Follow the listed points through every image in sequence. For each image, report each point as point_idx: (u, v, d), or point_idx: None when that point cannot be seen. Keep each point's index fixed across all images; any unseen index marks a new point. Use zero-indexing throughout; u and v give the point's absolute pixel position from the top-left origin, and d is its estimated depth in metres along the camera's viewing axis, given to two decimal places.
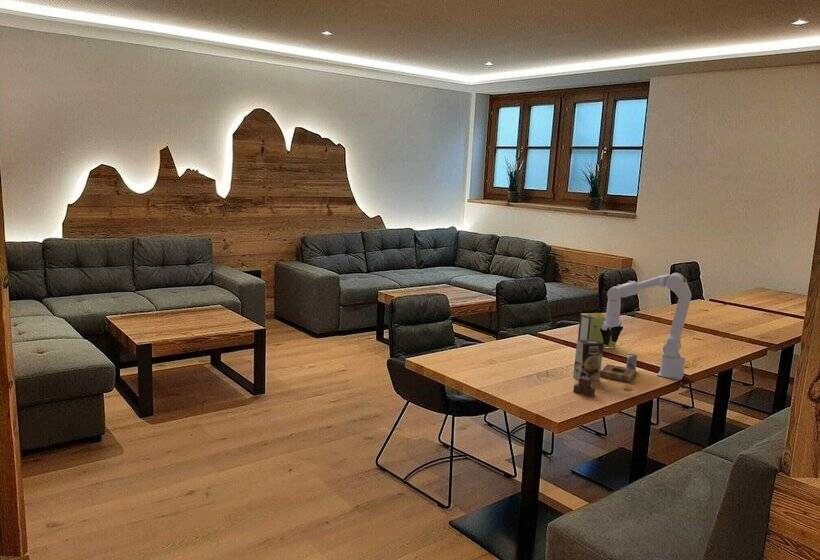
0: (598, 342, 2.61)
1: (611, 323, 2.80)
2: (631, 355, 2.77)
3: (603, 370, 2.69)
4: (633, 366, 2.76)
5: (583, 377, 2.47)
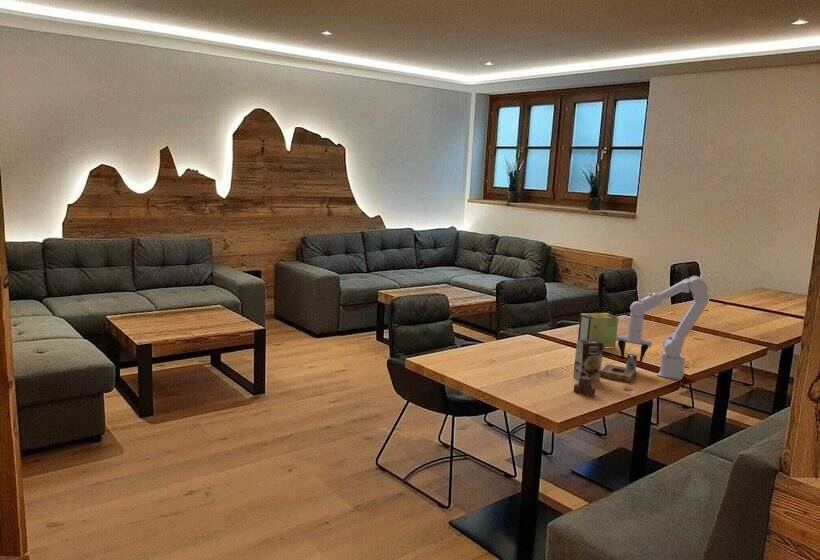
0: (598, 342, 2.61)
1: (627, 337, 2.76)
2: (631, 355, 2.77)
3: (603, 370, 2.69)
4: (633, 366, 2.76)
5: (583, 377, 2.47)
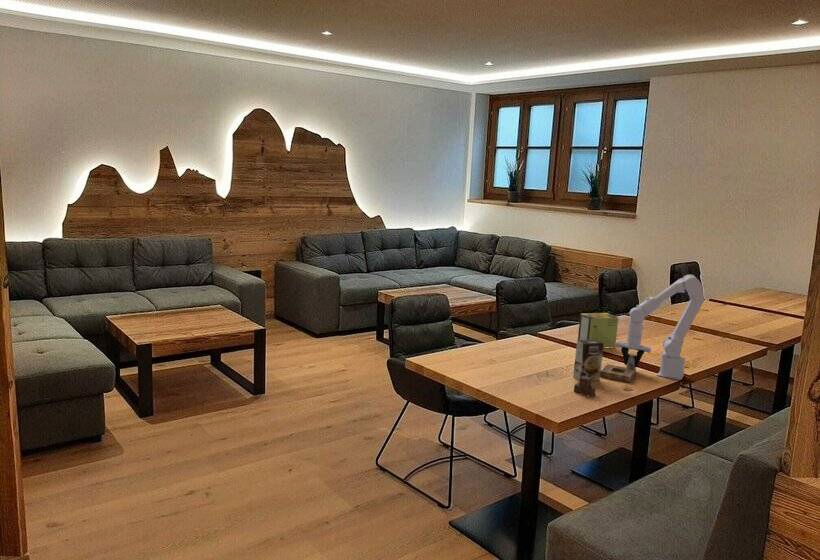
0: (598, 342, 2.61)
1: (626, 343, 2.76)
2: (631, 355, 2.77)
3: (603, 370, 2.69)
4: (633, 366, 2.76)
5: (583, 377, 2.47)
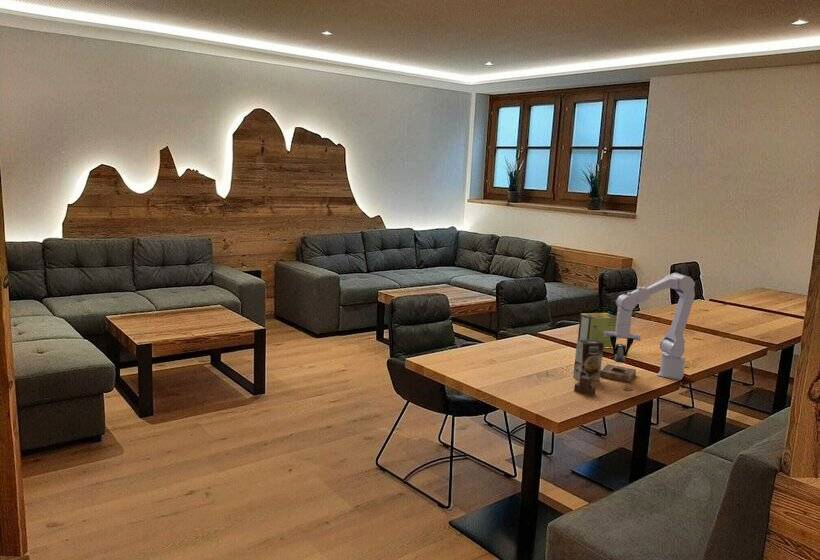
0: (598, 342, 2.61)
1: (615, 332, 2.67)
2: (620, 345, 2.68)
3: (603, 370, 2.69)
4: (622, 356, 2.67)
5: (584, 376, 2.48)
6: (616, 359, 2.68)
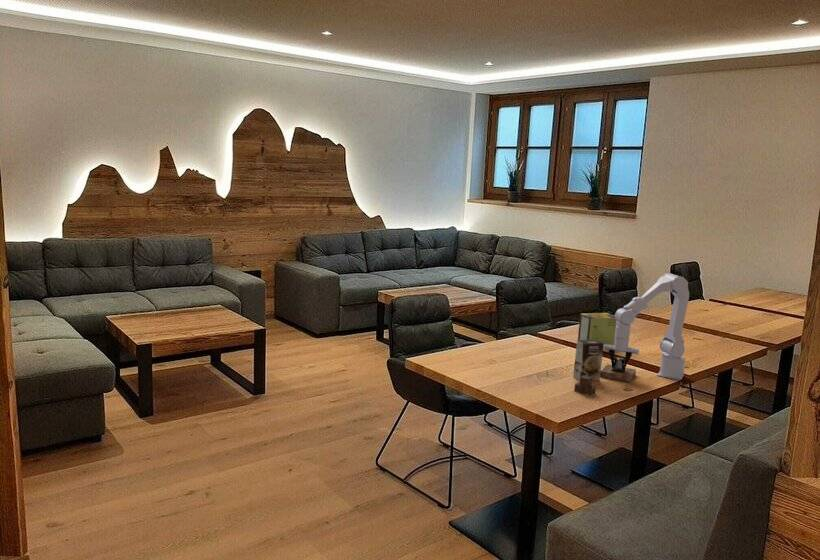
0: (598, 342, 2.61)
1: (614, 345, 2.68)
2: (618, 358, 2.69)
3: (603, 370, 2.69)
4: (621, 370, 2.68)
5: (584, 376, 2.48)
6: None
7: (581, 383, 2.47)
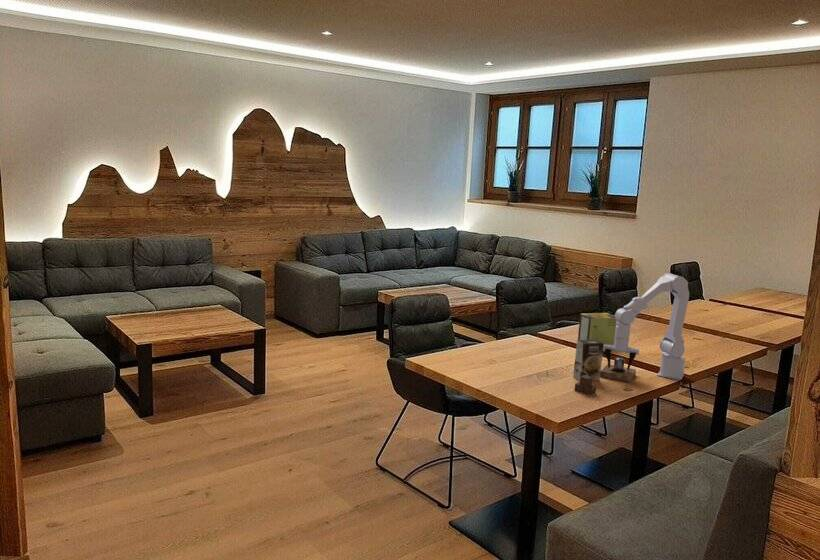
0: (598, 342, 2.61)
1: (614, 346, 2.68)
2: (618, 358, 2.69)
3: (603, 370, 2.69)
4: (621, 370, 2.68)
5: (584, 376, 2.48)
6: None
7: (581, 383, 2.47)
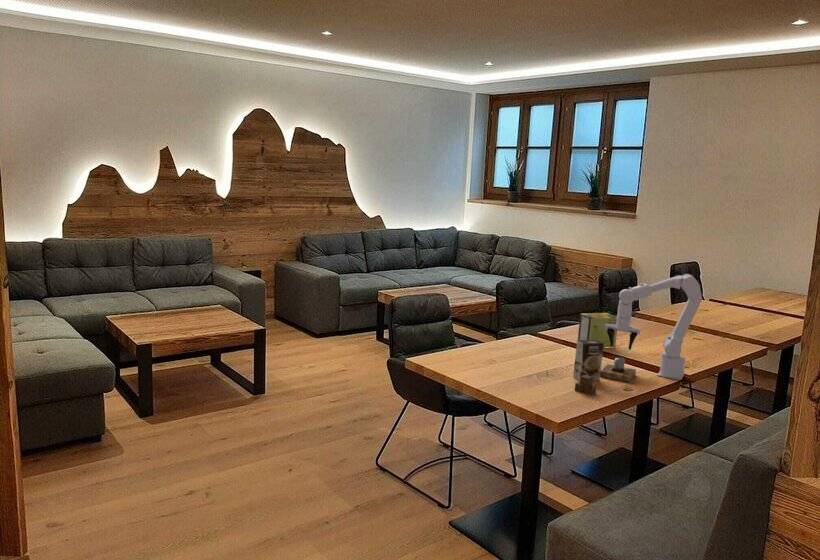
0: (598, 342, 2.61)
1: (616, 325, 2.77)
2: (619, 358, 2.69)
3: (603, 370, 2.69)
4: (621, 370, 2.68)
5: (584, 376, 2.48)
6: None
7: (581, 382, 2.48)
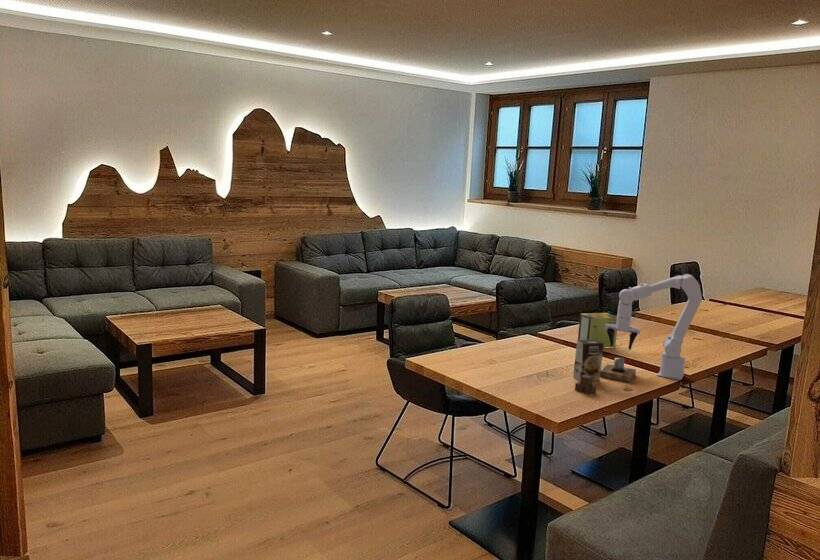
0: (598, 342, 2.61)
1: (616, 325, 2.77)
2: (618, 358, 2.69)
3: (603, 370, 2.69)
4: (621, 370, 2.68)
5: (584, 375, 2.49)
6: None
7: (582, 382, 2.48)
